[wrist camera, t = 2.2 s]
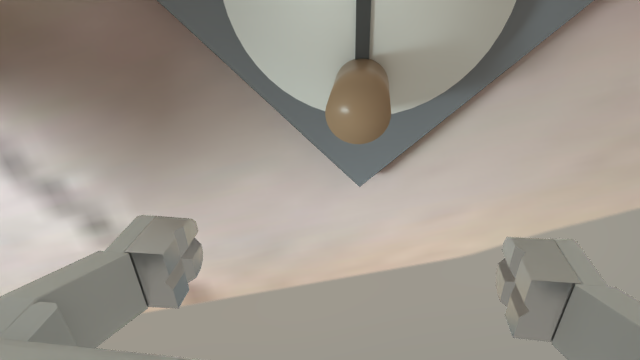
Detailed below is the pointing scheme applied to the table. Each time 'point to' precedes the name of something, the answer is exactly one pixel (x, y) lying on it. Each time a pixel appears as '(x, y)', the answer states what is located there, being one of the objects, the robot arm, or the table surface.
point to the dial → (366, 52)
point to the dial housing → (404, 127)
